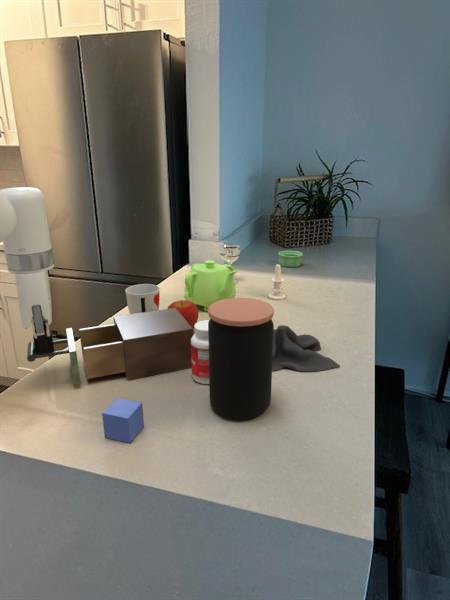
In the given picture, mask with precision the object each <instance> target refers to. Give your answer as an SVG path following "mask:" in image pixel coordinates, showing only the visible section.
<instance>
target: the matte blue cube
mask: <svg viewBox="0 0 450 600" xmlns="http://www.w3.org/2000/svg"><path fill="white" fill-rule="evenodd" d="M101 416H102V424H103V432H104V438H105V439H109V440H113V441H114V440H115V441H117V442H123V443H127V444H131V443H132V442H133V441H134V440H135V438H136V437H137V436H138V434H139V433H140V432H141V431H142V430H143V428H144V427H145V420H144V407H143V402H142V401H137V400H130V399H125V398H120V397H117V398H116V399H115V400H113V402H112V403H110V405H108V406H107V408H105V410H103V412H102V413H101Z"/></svg>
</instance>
